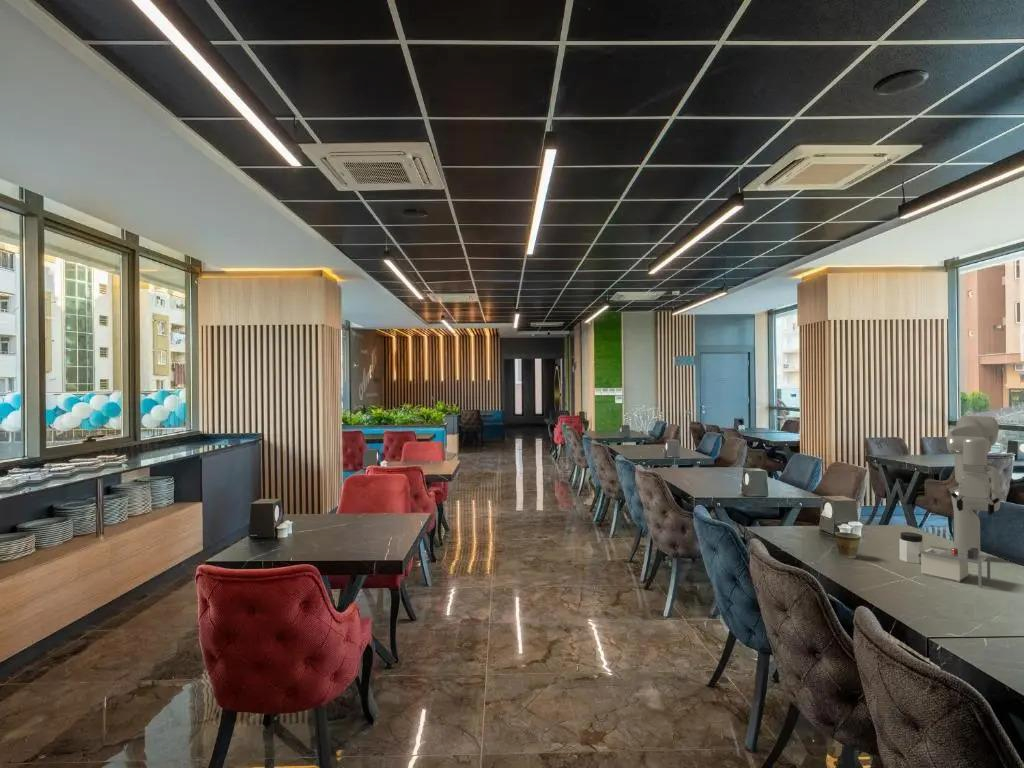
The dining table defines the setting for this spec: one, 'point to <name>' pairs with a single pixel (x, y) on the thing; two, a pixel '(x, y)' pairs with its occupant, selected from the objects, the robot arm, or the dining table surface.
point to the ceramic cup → (847, 544)
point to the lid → (966, 554)
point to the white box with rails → (948, 566)
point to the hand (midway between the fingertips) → (975, 512)
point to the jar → (910, 547)
